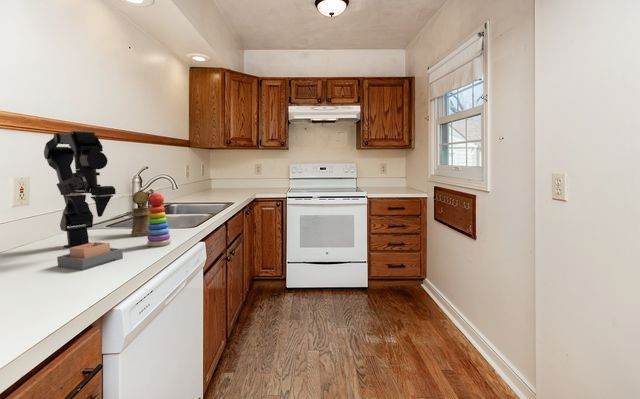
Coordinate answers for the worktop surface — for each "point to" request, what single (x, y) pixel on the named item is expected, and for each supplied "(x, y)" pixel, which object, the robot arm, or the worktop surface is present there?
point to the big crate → (89, 260)
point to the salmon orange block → (89, 250)
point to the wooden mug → (140, 215)
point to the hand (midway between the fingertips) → (90, 216)
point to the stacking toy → (157, 222)
